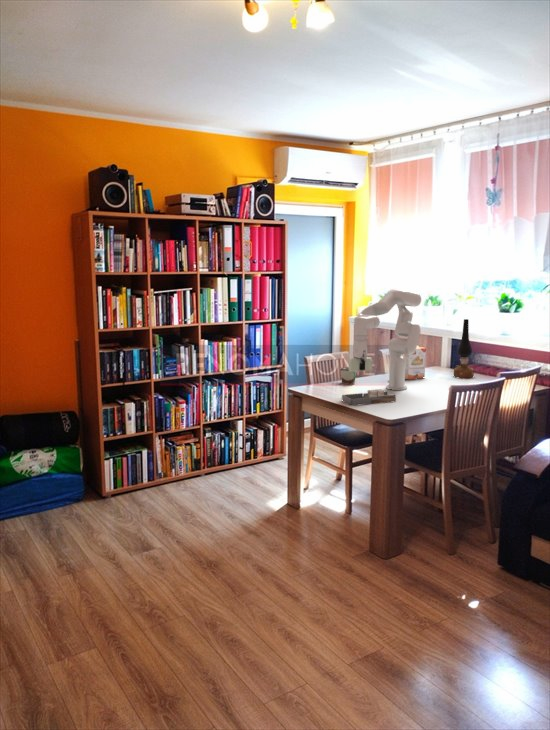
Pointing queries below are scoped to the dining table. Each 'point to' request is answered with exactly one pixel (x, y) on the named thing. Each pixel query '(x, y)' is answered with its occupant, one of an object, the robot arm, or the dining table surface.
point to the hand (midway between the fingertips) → (360, 368)
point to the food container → (347, 376)
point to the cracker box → (415, 364)
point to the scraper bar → (355, 364)
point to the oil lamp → (464, 354)
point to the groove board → (381, 398)
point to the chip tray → (356, 399)
